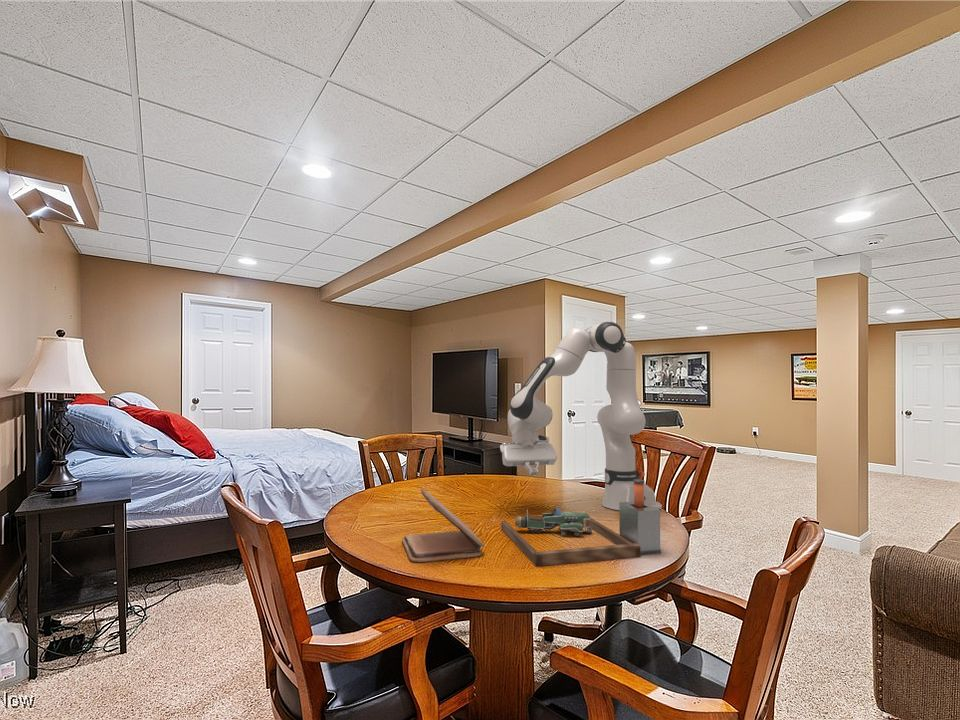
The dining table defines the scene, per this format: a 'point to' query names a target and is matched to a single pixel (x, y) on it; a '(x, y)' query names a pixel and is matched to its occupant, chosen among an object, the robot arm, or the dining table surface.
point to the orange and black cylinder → (638, 493)
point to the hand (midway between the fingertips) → (534, 473)
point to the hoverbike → (556, 522)
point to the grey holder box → (640, 526)
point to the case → (443, 539)
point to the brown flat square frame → (578, 554)
